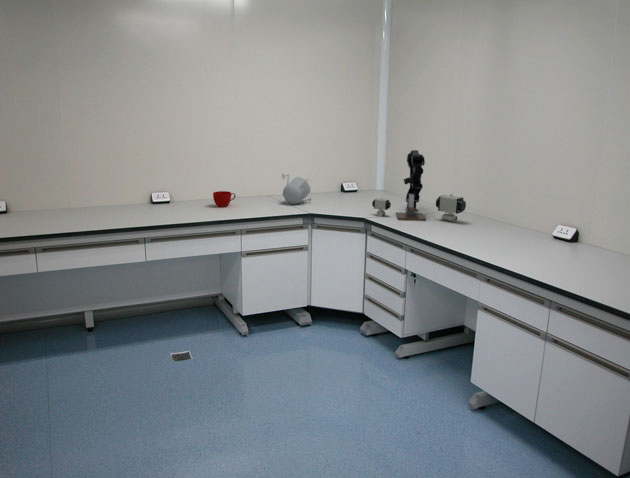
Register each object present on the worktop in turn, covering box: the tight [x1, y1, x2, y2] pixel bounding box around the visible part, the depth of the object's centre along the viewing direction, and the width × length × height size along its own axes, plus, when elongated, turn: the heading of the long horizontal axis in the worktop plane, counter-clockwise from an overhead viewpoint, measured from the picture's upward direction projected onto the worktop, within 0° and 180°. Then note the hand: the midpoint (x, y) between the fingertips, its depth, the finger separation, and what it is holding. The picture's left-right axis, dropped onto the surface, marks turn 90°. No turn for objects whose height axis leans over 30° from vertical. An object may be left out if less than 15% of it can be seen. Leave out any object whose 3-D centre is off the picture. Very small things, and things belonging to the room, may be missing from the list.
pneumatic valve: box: [371, 197, 392, 217], centre depth 367 cm, size 6×12×12 cm, turn 60°
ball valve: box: [435, 193, 467, 223], centre depth 352 cm, size 18×8×18 cm, turn 49°
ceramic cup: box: [212, 190, 236, 208], centre depth 393 cm, size 13×17×10 cm
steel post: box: [408, 194, 414, 208], centre depth 360 cm, size 3×3×10 cm
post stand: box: [395, 206, 427, 222], centre depth 362 cm, size 18×18×7 cm
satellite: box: [281, 173, 312, 205], centre depth 404 cm, size 23×20×25 cm
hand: (415, 196), depth 367 cm, fingers open, 9 cm apart
